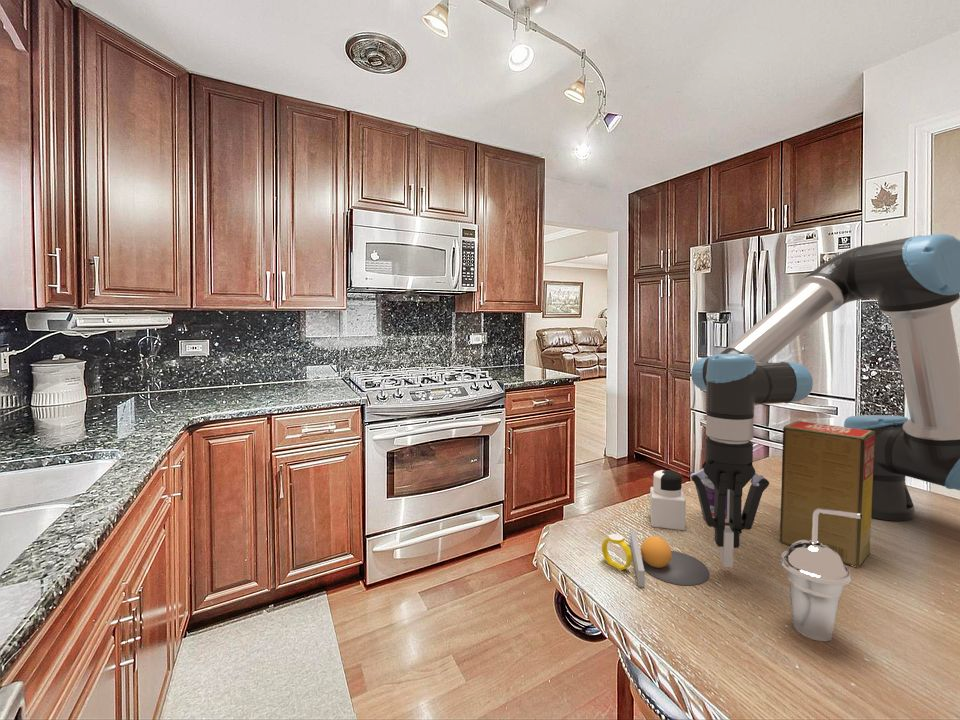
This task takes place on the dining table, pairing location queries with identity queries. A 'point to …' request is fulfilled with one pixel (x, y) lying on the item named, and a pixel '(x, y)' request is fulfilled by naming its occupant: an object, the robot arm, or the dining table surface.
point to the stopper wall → (637, 559)
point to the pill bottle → (711, 494)
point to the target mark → (680, 570)
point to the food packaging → (828, 486)
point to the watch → (620, 540)
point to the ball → (656, 552)
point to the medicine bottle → (667, 501)
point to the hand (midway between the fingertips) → (726, 562)
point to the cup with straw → (815, 581)
